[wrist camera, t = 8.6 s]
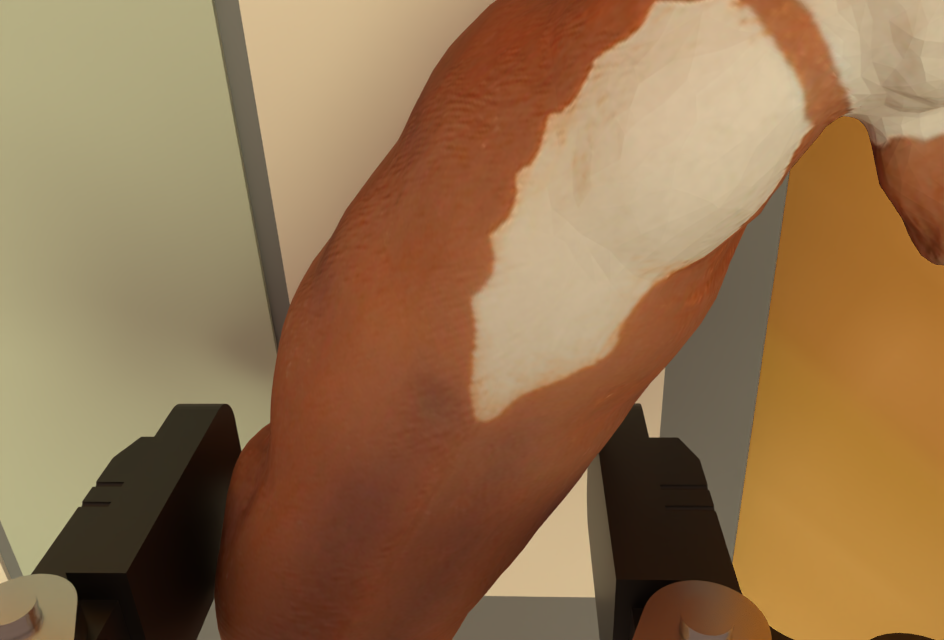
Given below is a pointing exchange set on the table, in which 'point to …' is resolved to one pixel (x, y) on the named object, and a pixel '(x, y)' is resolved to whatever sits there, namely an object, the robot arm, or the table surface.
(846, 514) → the table surface
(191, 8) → the game board
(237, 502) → the bull figurine
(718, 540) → the robot arm
